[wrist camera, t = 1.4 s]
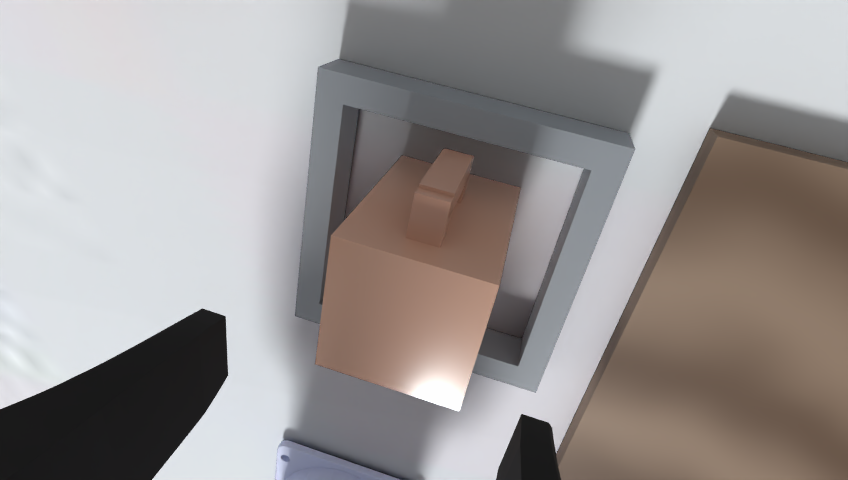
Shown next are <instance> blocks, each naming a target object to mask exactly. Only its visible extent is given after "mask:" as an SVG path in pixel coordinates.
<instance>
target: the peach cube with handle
mask: <svg viewBox="0 0 848 480" xmlns="http://www.w3.org/2000/svg"><path fill="white" fill-rule="evenodd" d="M473 160H474V156H472V155H468V154H465V153H461V152H457V151H454V150H450V149H446V148H445V149H443V150H442V151H441V153H440V154H439V156H438V157H437V159H436V160H435V162H434V163H433V164H432V163H429V162H425V161H421V160H418V159H414V158H410V157H407V156H403V155H402V156H401V157H400V158H399V159H398V161H397V162H396V163H395V164H394V165H393V166H392V167H391V168H390V170H389V171H388V172H387V173H386V174H385V175H384V176H383V177H382V179H381V180H380V181H379V182H378V183H377V184H376V185H375V186H374V188H373V189H372V190H371V191H370V192H369V193H368V194H367V195H366V197H365V198H364V199H363V200H362V201H361V202H360V203H359V204H358V206H357V207H356V208H355V209H354V210H353V211H352V212H351V213H350V215H349V216H348V217H347V218H346V219H345V220H344V221H343V222H342V224H341V225H340V226H339V227H338V228H337V229H336V230H335V231H334V233H333V234H332V235H331V239H330V247H329V255H328V263H327V272H326V280H325V288H324V296H323V304H322V312H321V320H320V328H319V337H318V345H317V353H316V361H315V364H316V365H319V366H322V367H325V368H328V369H331V370H334V371H337V372H340V373H343V374H346V375H350V376H353V377H356V378H359V379H362V380H365V381H368V382H371V383H374V384H377V385H380V386H383V387H386V388H389V389H392V390H395V391H398V392H401V393H404V394H407V395H410V396H413V397H416V398H420V399H423V400H426V401H429V402H432V403H435V404H438V405H441V406H444V407H447V408H450V409H453V410H456V411H460V408H461V405H462V402H463V399H464V396H465V393H466V389H467V386H468V383H469V380H470V377H471V374H472V371H473V367H474V364H475V361H476V358H477V355H478V352H479V349H480V345H481V342H482V339H483V336H484V333H485V330H486V327H487V324H488V320H489V317H490V314H491V311H492V308H493V305H494V302H495V298H496V295H497V292H498V289H499V286H500V281H501V277H502V272H503V268H504V263H505V258H506V254H507V249H508V245H509V240H510V235H511V231H512V226H513V222H514V217H515V212H516V208H517V203H518V199H519V194H520V189H521V188H520V187H516V186H512V185H509V184H505V183H502V182H498V181H494V180H491V179H487V178H483V177H480V176H476V175H472V174H470V171H471V168H472V164H473Z"/></svg>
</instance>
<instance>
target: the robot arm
mask: <svg viewBox="0 0 848 480" xmlns="http://www.w3.org/2000/svg"><path fill="white" fill-rule="evenodd" d="M227 376H228V365H227V341H226V317H225V316H223V315H220V314H217V313H214V312H211V311H208V310H205V309H201V310H199V311H197V312H195V313H193V314H192V315H190V316H188V317H186V318H184V319H182V320H181V321H179V322H177V323H175V324H174V325H172V326H170V327H168V328H166V329H165V330H163V331H161V332H159V333H157V334H156V335H154V336H152V337H150V338H148V339H147V340H145V341H143V342H141V343H139V344H138V345H136V346H134V347H132V348H130V349H128V350H126V351H125V352H123V353H121V354H119V355H117V356H115V357H113V358H111V359H110V360H108V361H106V362H104V363H102V364H100V365H98V366H96V367H94V368H92V369H90V370H88V371H86V372H84V373H82V374H80V375H78V376H75V377H73V378H71V379H69V380H67V381H65V382H63V383H61V384H59V385H57V386H54V387H52V388H50V389H48V390H46V391H43V392H41V393H39V394H37V395H34V396H32V397H29V398H27V399H25V400H22V401H20V402H17V403H15V404H12V405H10V406H7V407H5V408H2V409H0V480H152V479H153V478H154V476H155V475H156V474H157V473H158V471H159V470H160V469H161V468H162V466H163V465H164V464H165V463H166V461H167V460H168V459H169V458H170V456H171V455H172V454H173V453H174V451H175V450H176V449H177V448H178V446H179V445H180V444H181V443H182V441H183V440H184V439H185V438H186V436H187V435H188V434H189V433H190V431H191V430H192V429H193V428H194V426H195V425H196V424H197V422H198V421H199V420H200V419H201V417H202V416H203V415H204V413H205V412H206V410H207V409H208V407H209V406H210V404H211V402H212V401H213V399H214V398H215V396H216V395H217V393H218V391H219V390H220V388H221V386H222V385H223V383H224V381H225V380H226V378H227ZM275 480H400V479H397V478H394V477H392V476H389V475H386V474H383V473H380V472H377V471H374V470H371V469H369V468H366V467H363V466H360V465H357V464H354V463H351V462H349V461H346V460H343V459H340V458H337V457H334V456H331V455H329V454H326V453H323V452H320V451H317V450H314V449H311V448H308V447H306V446H303V445H300V444H297V443H294V442H291V441H287V440H285V441H282V442H281V443H280V445H279V446H278V450H277V462H276V474H275ZM496 480H561V477H560V472H559V468H558V462H557V457H556V452H555V446H554V440H553V432H552V427H551V426H550V424H549V423H547V422H544V421H541V420H538V419H535V418H532V417H529V416H526V415H523V414H521V417H520V419H519V421H518V424H517V426H516V428H515V431H514V433H513V436H512V438H511V440H510V443H509V445H508V447H507V450H506V452H505V454H504V457H503V459H502V462H501V464H500V466H499V469H498V473H497V478H496Z"/></svg>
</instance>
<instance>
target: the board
mask: <svg viewBox="0 0 848 480" xmlns="http://www.w3.org/2000/svg"><path fill="white" fill-rule="evenodd" d="M556 457H557V462H558V468H559V472H560V477H561V480H848V162H844V161H840V160H836V159H832V158H828V157H824V156H820V155H816V154H812V153H808V152H804V151H800V150H796V149H792V148H788V147H784V146H780V145H776V144H772V143H768V142H764V141H760V140H756V139H752V138H748V137H744V136H740V135H736V134H732V133H728V132H724V131H720V130H716V129H712V128H710V129H709V131H708V133H707V136H706V138H705V140H704V142H703V144H702V146H701V148H700V150H699V153H698V155H697V157H696V159H695V161H694V163H693V165H692V167H691V170H690V172H689V174H688V176H687V178H686V180H685V182H684V184H683V187H682V189H681V191H680V193H679V195H678V197H677V199H676V201H675V204H674V206H673V208H672V210H671V212H670V214H669V216H668V218H667V220H666V223H665V225H664V227H663V229H662V231H661V233H660V235H659V237H658V240H657V242H656V244H655V246H654V248H653V250H652V252H651V254H650V257H649V259H648V261H647V263H646V265H645V267H644V269H643V271H642V274H641V276H640V278H639V280H638V282H637V284H636V286H635V288H634V291H633V293H632V295H631V297H630V299H629V301H628V303H627V305H626V308H625V310H624V312H623V314H622V316H621V318H620V320H619V322H618V324H617V327H616V329H615V331H614V333H613V335H612V337H611V339H610V341H609V344H608V346H607V348H606V350H605V352H604V354H603V356H602V358H601V361H600V363H599V365H598V367H597V369H596V371H595V373H594V375H593V378H592V380H591V382H590V384H589V386H588V388H587V390H586V392H585V395H584V397H583V399H582V401H581V403H580V405H579V407H578V409H577V412H576V414H575V416H574V418H573V420H572V422H571V424H570V426H569V428H568V431H567V433H566V435H565V437H564V439H563V441H562V443H561V445H560V448H559V450H558V452H557V454H556Z"/></svg>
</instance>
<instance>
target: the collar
mask: <svg viewBox="0 0 848 480" xmlns="http://www.w3.org/2000/svg"><path fill="white" fill-rule="evenodd" d="M359 109H362V110H366V111H369V112H373V113H377V114H381V115H384V116H388V117H392V118H396V119H400V120H403V121H407V122H411V123H415V124H418V125H422V126H426V127H430V128H433V129H437V130H441V131H445V132H448V133H452V134H456V135H460V136H463V137H467V138H471V139H475V140H478V141H482V142H486V143H490V144H493V145H497V146H501V147H505V148H508V149H512V150H516V151H520V152H523V153H527V154H531V155H535V156H539V157H542V158H546V159H550V160H554V161H557V162H561V163H565V164H569V165H572V166H576V167H580V168H584V170H583V173H582V176H581V178H580V181H579V184H578V187H577V189H576V192H575V195H574V198H573V200H572V203H571V206H570V209H569V211H568V214H567V217H566V219H565V222H564V225H563V228H562V230H561V233H560V236H559V239H558V241H557V244H556V247H555V250H554V252H553V255H552V258H551V261H550V263H549V266H548V269H547V271H546V274H545V277H544V280H543V282H542V285H541V288H540V291H539V293H538V296H537V299H536V302H535V304H534V307H533V310H532V313H531V315H530V318H529V321H528V323H527V326H526V329H525V332H524V334H523V337H522V339H520V338H517V337H514V336H510V335H507V334H504V333H501V332H497V331H494V330H491V329H488V328H486V330H485V333H484V336H483V339H482V342H481V345H480V349H479V352H478V355H477V358H476V361H475V364H474V367H473V371H472V373H476V374H479V375H482V376H485V377H488V378H491V379H494V380H497V381H501V382H504V383H507V384H510V385H513V386H516V387H519V388H523V389H526V390H529V391H532V392H535V393H536V391H537V389H538V386H539V384H540V381H541V379H542V376H543V374H544V371H545V369H546V367H547V364H548V362H549V359H550V357H551V354H552V352H553V349H554V347H555V344H556V342H557V340H558V337H559V335H560V332H561V330H562V327H563V325H564V322H565V320H566V318H567V315H568V313H569V310H570V308H571V305H572V303H573V300H574V298H575V295H576V293H577V291H578V288H579V286H580V283H581V281H582V278H583V276H584V273H585V271H586V268H587V266H588V264H589V261H590V259H591V256H592V254H593V251H594V249H595V246H596V244H597V242H598V239H599V237H600V234H601V232H602V229H603V227H604V224H605V222H606V219H607V217H608V215H609V212H610V210H611V207H612V205H613V202H614V200H615V197H616V195H617V193H618V190H619V188H620V185H621V183H622V180H623V178H624V175H625V173H626V170H627V168H628V166H629V163H630V161H631V158H632V156H633V153H634V151H635V147H634V145H633V142H632V139H631V136H630V134H629V133H626V132H622V131H618V130H614V129H610V128H606V127H603V126H599V125H595V124H591V123H587V122H583V121H579V120H575V119H571V118H567V117H563V116H560V115H556V114H552V113H548V112H544V111H540V110H536V109H532V108H528V107H524V106H520V105H517V104H513V103H509V102H505V101H501V100H497V99H493V98H489V97H485V96H481V95H477V94H474V93H470V92H466V91H462V90H458V89H454V88H450V87H446V86H442V85H438V84H434V83H431V82H427V81H423V80H419V79H415V78H411V77H407V76H403V75H399V74H395V73H391V72H388V71H384V70H380V69H376V68H372V67H368V66H364V65H360V64H356V63H352V62H348V61H345V60H341V59H337V60H335V61H332V62H330V63H327V64H325V65H322V66H320V67H318V73H317V84H316V95H315V105H314V116H313V127H312V138H311V149H310V159H309V170H308V181H307V192H306V203H305V213H304V224H303V235H302V246H301V256H300V267H299V278H298V289H297V300H296V310H295V316H297V317H300V318H303V319H306V320H309V321H313V322H316V323H319V324H320V320H321V312H322V304H323V296H324V288H325V280H326V272H327V263H328V255H329V247H330V239H331V235H332V234H333V233H334V231H335V230H336V229H337V228H338V227H339V226H340V225H341V224H342V222H343V221H344V217H345V210H346V202H347V195H348V188H349V180H350V173H351V165H352V158H353V150H354V143H355V136H356V128H357V121H358V113H359Z"/></svg>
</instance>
